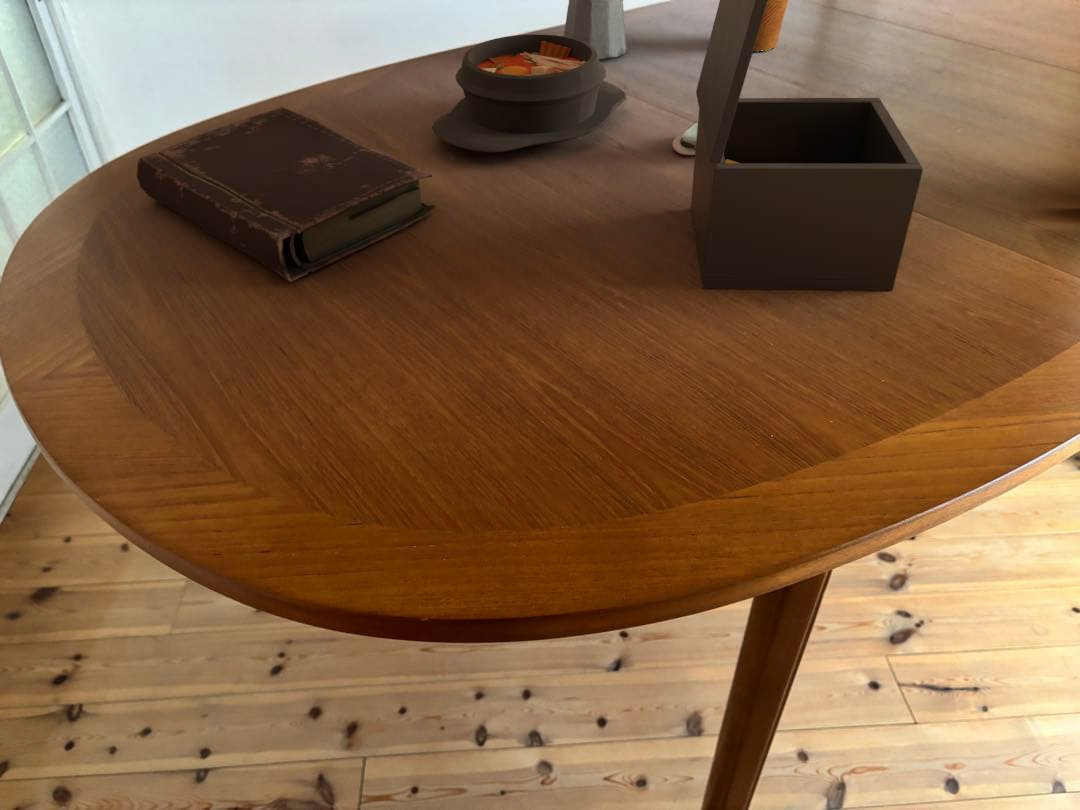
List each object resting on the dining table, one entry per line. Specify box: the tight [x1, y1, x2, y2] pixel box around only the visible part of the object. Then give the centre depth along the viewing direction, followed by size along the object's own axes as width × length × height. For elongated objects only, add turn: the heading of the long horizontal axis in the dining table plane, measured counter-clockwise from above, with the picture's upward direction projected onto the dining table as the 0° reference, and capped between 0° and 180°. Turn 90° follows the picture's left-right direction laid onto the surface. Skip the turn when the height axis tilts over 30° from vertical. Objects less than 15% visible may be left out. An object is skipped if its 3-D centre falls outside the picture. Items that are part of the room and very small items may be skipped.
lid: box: [695, 0, 768, 163], centre depth 72 cm, size 17×15×1 cm
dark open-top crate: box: [690, 97, 924, 292], centre depth 80 cm, size 16×15×11 cm
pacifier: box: [672, 121, 698, 156], centre depth 99 cm, size 7×6×6 cm
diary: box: [136, 106, 436, 283], centre depth 91 cm, size 19×25×5 cm
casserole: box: [431, 34, 627, 154], centre depth 105 cm, size 25×19×8 cm
